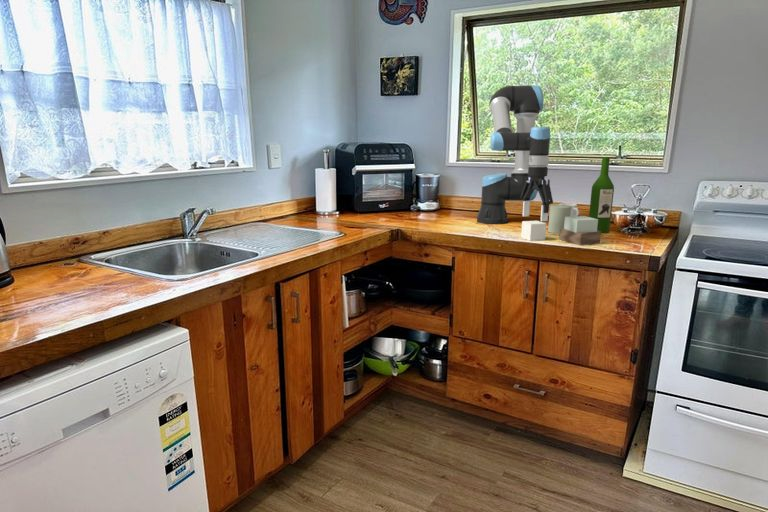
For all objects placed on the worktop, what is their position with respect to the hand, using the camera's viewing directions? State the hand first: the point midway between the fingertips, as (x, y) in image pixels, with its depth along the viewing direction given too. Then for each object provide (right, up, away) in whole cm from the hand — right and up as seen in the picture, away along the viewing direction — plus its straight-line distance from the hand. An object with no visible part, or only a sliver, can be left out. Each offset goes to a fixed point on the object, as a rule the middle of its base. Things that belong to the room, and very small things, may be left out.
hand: (534, 218), depth 203 cm
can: (+16, -5, +17) cm, 23 cm away
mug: (+26, -1, +32) cm, 41 cm away
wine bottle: (+33, -5, +16) cm, 38 cm away
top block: (+17, -5, -4) cm, 18 cm away
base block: (+17, -10, -3) cm, 20 cm away
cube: (0, -8, +2) cm, 9 cm away
